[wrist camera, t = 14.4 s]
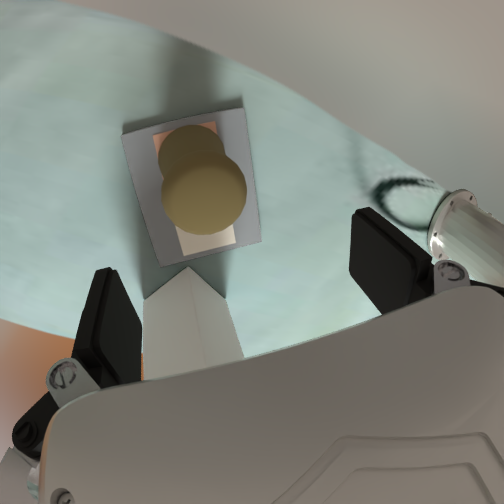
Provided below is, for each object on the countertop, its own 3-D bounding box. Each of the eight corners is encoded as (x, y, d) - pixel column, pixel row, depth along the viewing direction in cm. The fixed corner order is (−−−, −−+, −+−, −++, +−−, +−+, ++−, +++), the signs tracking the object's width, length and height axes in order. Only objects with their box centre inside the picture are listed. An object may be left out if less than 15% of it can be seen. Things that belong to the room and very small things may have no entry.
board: (241, 107, 25) (244, 107, 24) (259, 237, 33) (262, 242, 32) (122, 134, 24) (120, 136, 23) (160, 262, 31) (160, 268, 30)
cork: (175, 200, 27) (183, 266, 18) (146, 143, 24) (133, 181, 15) (235, 172, 27) (274, 223, 18) (210, 113, 24) (238, 131, 15)
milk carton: (183, 330, 37) (209, 470, 22) (142, 299, 33) (149, 456, 18) (226, 299, 36) (275, 443, 21) (187, 264, 32) (220, 426, 17)
